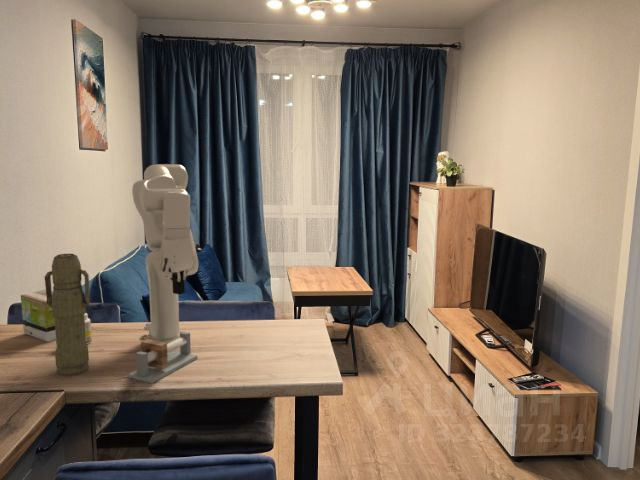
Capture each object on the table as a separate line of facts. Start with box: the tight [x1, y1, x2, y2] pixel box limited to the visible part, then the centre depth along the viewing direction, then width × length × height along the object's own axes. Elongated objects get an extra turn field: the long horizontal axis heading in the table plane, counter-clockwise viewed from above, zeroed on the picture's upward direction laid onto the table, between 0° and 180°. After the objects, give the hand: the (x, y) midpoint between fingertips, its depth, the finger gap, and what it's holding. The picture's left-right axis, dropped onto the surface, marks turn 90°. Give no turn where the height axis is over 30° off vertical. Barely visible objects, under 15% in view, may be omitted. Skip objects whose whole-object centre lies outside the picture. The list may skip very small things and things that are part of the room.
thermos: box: [44, 253, 91, 377], centre depth 154 cm, size 9×12×35 cm
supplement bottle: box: [84, 312, 92, 345], centre depth 179 cm, size 6×6×10 cm
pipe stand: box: [127, 331, 198, 384], centre depth 159 cm, size 9×21×8 cm, turn 156°
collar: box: [140, 338, 168, 369], centre depth 155 cm, size 8×2×7 cm, turn 66°
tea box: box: [20, 289, 56, 343], centre depth 186 cm, size 15×10×15 cm, turn 58°
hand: (178, 293), depth 158 cm, fingers closed
